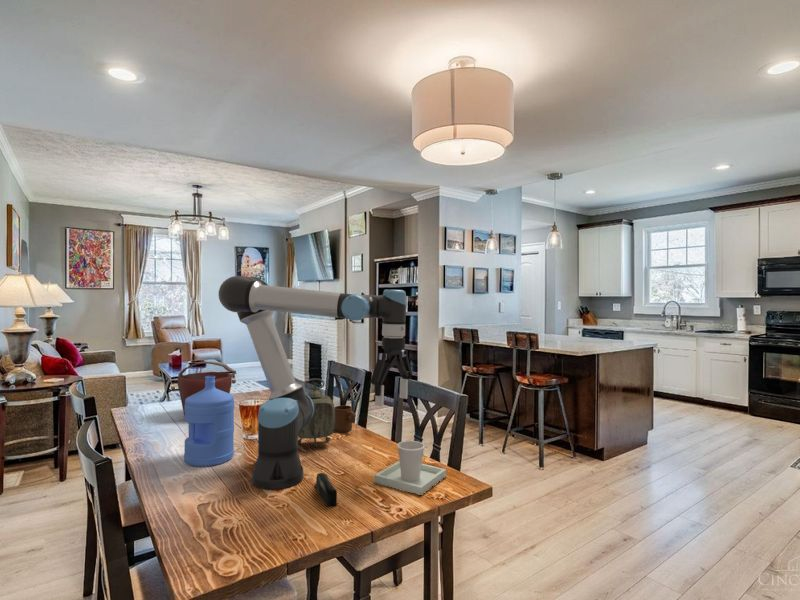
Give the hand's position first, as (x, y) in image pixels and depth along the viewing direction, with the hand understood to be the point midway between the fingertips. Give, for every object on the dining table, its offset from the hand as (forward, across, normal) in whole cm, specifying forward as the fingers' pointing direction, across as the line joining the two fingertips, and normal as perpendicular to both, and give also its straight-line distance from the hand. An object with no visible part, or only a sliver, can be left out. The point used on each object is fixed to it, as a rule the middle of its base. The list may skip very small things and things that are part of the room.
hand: (391, 401), depth 147 cm
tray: (+21, -4, -11) cm, 24 cm away
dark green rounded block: (+22, -28, +3) cm, 36 cm away
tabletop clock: (+22, +1, +35) cm, 42 cm away
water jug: (+23, -30, +54) cm, 66 cm away
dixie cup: (+21, -5, -11) cm, 24 cm away
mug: (+22, +21, +38) cm, 48 cm away
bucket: (+23, -1, +102) cm, 105 cm away
